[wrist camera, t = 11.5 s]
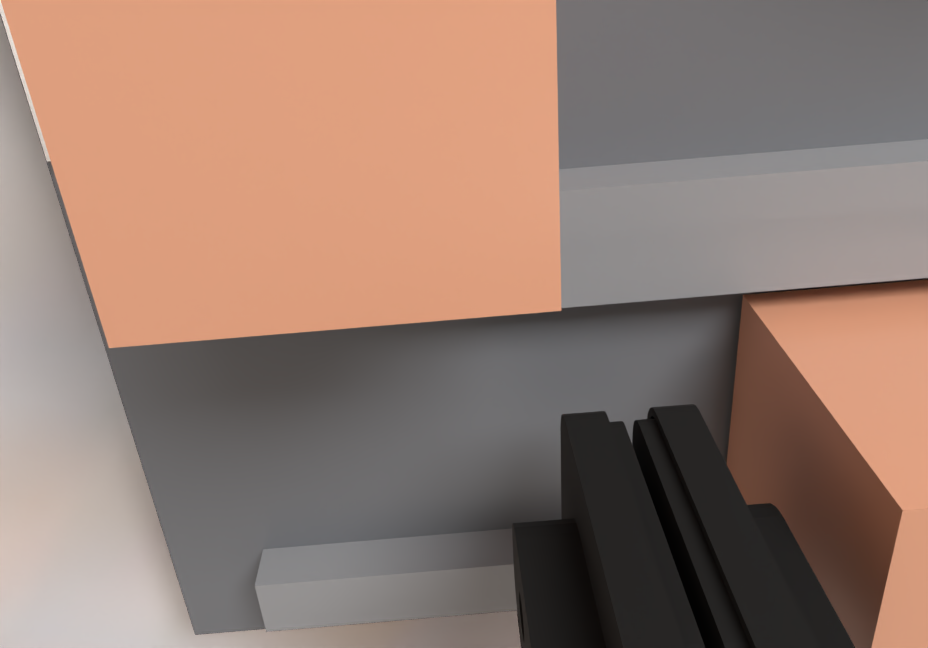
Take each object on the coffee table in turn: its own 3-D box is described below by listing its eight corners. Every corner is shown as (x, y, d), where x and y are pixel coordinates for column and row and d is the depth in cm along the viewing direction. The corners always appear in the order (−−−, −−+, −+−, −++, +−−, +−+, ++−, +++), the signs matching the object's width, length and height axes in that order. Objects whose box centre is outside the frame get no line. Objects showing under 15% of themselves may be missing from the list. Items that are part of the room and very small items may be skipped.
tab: (153, -161, 9) (-56, -177, 5) (494, -188, 9) (551, -227, 5) (224, 167, 11) (109, 347, 7) (509, 145, 11) (560, 310, 7)
